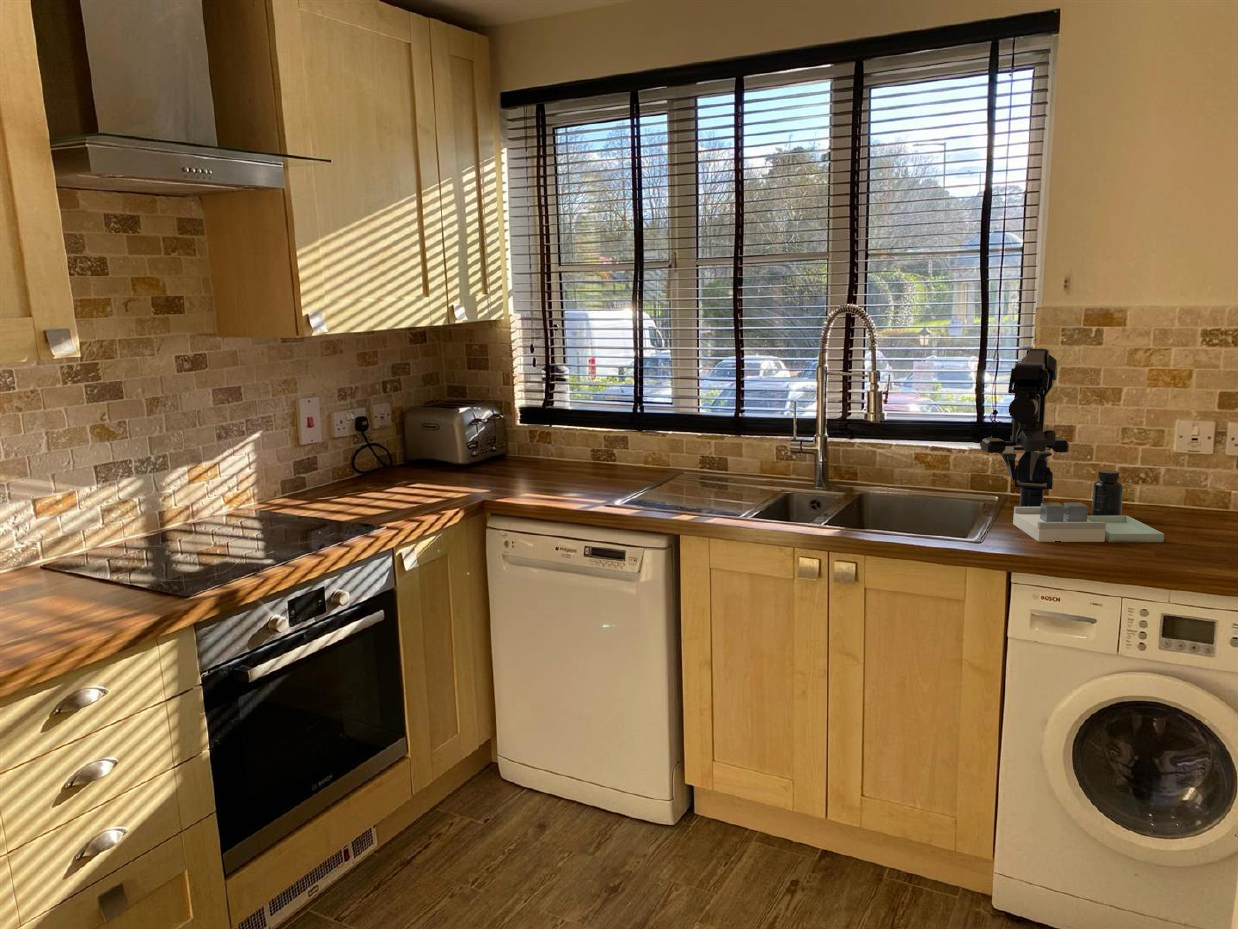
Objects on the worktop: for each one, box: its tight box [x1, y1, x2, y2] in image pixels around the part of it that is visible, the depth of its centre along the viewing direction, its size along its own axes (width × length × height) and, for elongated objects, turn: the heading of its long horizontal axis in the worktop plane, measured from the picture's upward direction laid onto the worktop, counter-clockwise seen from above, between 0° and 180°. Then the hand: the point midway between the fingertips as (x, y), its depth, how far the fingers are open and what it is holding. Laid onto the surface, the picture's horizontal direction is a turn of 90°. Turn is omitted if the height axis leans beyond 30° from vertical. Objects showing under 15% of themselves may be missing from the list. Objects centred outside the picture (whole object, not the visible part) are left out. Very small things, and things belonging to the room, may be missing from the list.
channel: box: [1012, 506, 1106, 543], centre depth 222 cm, size 17×15×4 cm
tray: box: [1087, 515, 1165, 543], centre depth 221 cm, size 18×12×2 cm, turn 176°
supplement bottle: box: [1091, 469, 1124, 516], centre depth 236 cm, size 7×7×12 cm
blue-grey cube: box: [1040, 502, 1064, 522], centre depth 222 cm, size 4×4×4 cm
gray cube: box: [1063, 502, 1089, 522], centre depth 221 cm, size 4×4×4 cm
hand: (1022, 480), depth 221 cm, fingers open, 4 cm apart
